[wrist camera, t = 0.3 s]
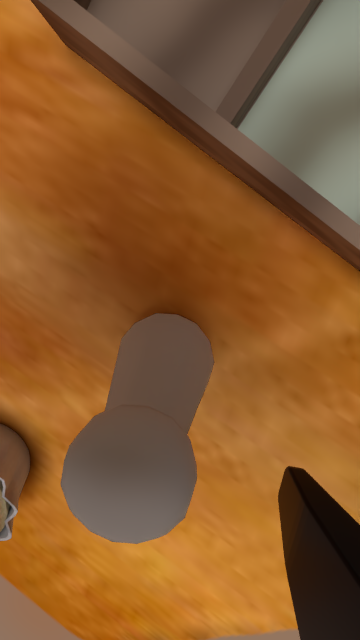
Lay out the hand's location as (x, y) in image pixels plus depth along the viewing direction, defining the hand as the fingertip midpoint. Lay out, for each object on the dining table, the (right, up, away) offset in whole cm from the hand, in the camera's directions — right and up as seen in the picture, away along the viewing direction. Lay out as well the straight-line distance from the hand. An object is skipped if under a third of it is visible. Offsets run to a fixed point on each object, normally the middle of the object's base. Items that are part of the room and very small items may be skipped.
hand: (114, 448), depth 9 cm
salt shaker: (+1, +2, +13) cm, 14 cm away
